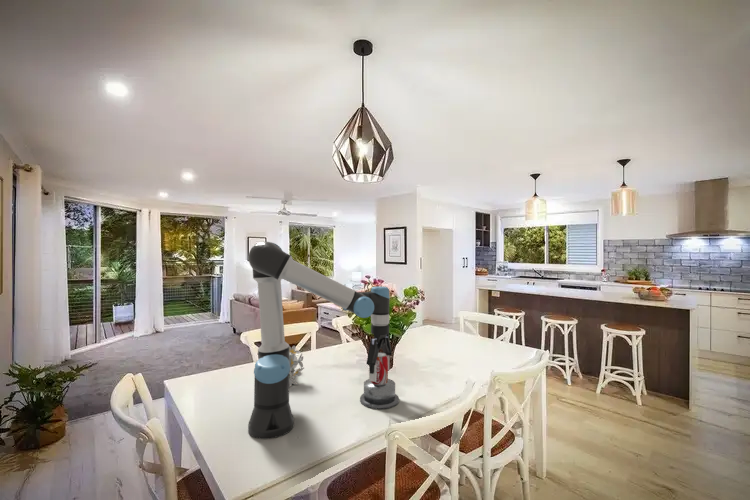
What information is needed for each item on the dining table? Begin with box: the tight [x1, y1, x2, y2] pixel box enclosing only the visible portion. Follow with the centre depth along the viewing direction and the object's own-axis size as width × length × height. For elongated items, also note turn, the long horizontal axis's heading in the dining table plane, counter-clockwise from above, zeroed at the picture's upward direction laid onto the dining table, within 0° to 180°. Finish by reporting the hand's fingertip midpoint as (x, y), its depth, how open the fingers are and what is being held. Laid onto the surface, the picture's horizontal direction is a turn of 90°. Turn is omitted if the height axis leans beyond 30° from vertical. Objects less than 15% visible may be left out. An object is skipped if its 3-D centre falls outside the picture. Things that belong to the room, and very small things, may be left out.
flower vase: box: [289, 345, 305, 388], centre depth 163 cm, size 13×18×25 cm
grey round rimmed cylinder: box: [359, 378, 400, 410], centre depth 138 cm, size 16×16×7 cm
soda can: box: [371, 351, 389, 386], centre depth 138 cm, size 7×7×12 cm
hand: (379, 375), depth 138 cm, fingers open, 13 cm apart
